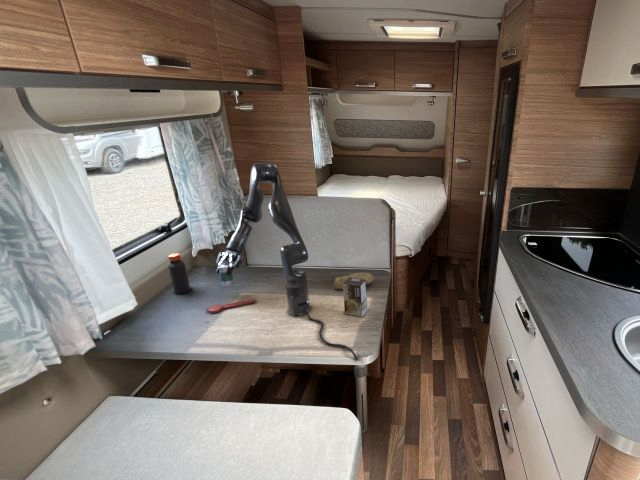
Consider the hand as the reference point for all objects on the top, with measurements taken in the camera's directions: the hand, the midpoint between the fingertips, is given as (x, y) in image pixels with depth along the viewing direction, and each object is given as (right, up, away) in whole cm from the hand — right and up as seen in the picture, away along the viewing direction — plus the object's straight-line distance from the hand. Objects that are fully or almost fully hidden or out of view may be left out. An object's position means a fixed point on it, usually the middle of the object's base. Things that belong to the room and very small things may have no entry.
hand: (222, 274), depth 163 cm
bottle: (-26, -10, +9) cm, 29 cm away
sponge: (+61, -9, +17) cm, 64 cm away
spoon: (+7, -15, -4) cm, 17 cm away
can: (0, -5, +4) cm, 6 cm away
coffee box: (+66, -17, -6) cm, 69 cm away
